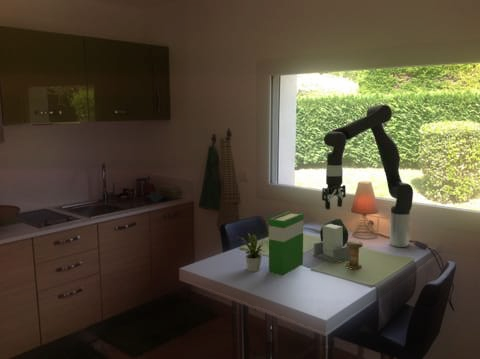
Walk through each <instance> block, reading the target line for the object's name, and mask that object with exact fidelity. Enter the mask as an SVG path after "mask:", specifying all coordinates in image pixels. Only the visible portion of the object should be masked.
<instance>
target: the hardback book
mask: <svg viewBox="0 0 480 359" xmlns="http://www.w3.org/2000/svg"><path fill="white" fill-rule="evenodd" d="M303 260H304V213H302V212H301V213H299V214H297V213H292V211H289V210H288V211H287V212H283V213H282V214H279V215H276V216H274V217H271V218H268V272H269V273H271V274H276V275H279V276H283V277H284V276H285V275H286V274H289V273H290V272H292V271H294V270H296V269H297V268H298V267H300V266H302V265H303V264H304V261H303Z"/></svg>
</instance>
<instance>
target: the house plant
mask: <svg viewBox="0 0 480 359" xmlns="http://www.w3.org/2000/svg"><path fill="white" fill-rule="evenodd" d="M247 234H248V237H249V239H248V240H249V243H250V244H249V243H248V242H247V241H246V240H245V239H244V238H243V237H239V236H238V238H240V239H241V240H243V242H241V243H242V244H245V245H246V246H247V248H244V247H242V246H241V245H240V246H238V247H240V251H243V250H244V252H245V254H246V255H245V260H246V265H247V271H249V272H258V271H260V269H261V263H262V262H261V261H262V255H261V253H266V251H265V250H263V249H261V247H263V246H265V245H262V244H263V243H265V242H266V240H263V241H261V243H259V245H258V247H257V244H258V238H257V235H255V234H252V236H251V234H250V233H247Z"/></svg>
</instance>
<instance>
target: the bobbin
mask: <svg viewBox="0 0 480 359" xmlns="http://www.w3.org/2000/svg"><path fill="white" fill-rule="evenodd" d="M345 246H348V247H350V257H349V259H348V260H349V261H348V262H346V263H345V267H346V268H347V267H348V268H347V269H349V268H352V269H351V270H360V269H359V268H361V267H362V268H363V265H362V263H360V262H359V253H360V248H363V246H364V245H363V242H361V241H357V240H349V241H347V243H346V244H345ZM362 268H361V269H362Z"/></svg>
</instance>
